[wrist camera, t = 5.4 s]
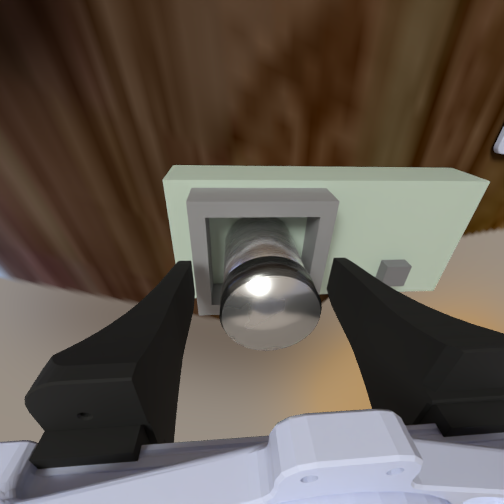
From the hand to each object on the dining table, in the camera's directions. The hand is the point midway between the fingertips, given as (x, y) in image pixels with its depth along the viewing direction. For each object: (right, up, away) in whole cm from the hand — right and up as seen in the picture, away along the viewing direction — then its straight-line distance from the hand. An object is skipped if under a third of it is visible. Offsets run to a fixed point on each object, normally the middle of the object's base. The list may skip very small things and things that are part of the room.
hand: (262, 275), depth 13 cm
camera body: (+4, +3, +5) cm, 7 cm away
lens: (0, +2, +2) cm, 3 cm away
